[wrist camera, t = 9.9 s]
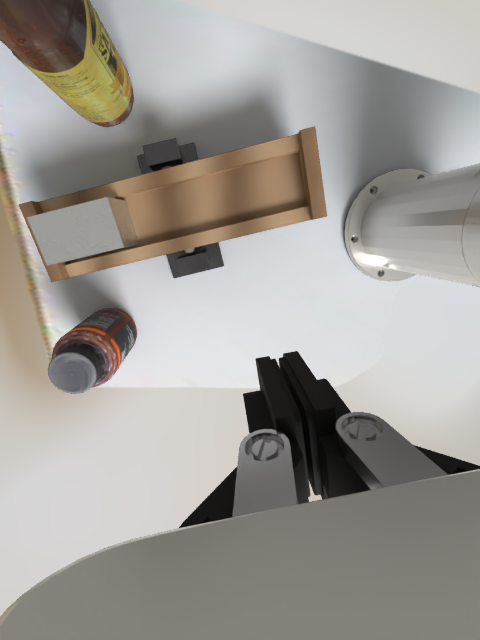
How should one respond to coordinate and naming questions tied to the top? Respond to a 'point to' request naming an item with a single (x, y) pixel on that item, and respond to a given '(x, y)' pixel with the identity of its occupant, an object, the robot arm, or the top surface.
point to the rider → (83, 230)
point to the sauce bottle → (69, 55)
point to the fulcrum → (173, 156)
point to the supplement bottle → (92, 351)
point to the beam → (205, 201)
